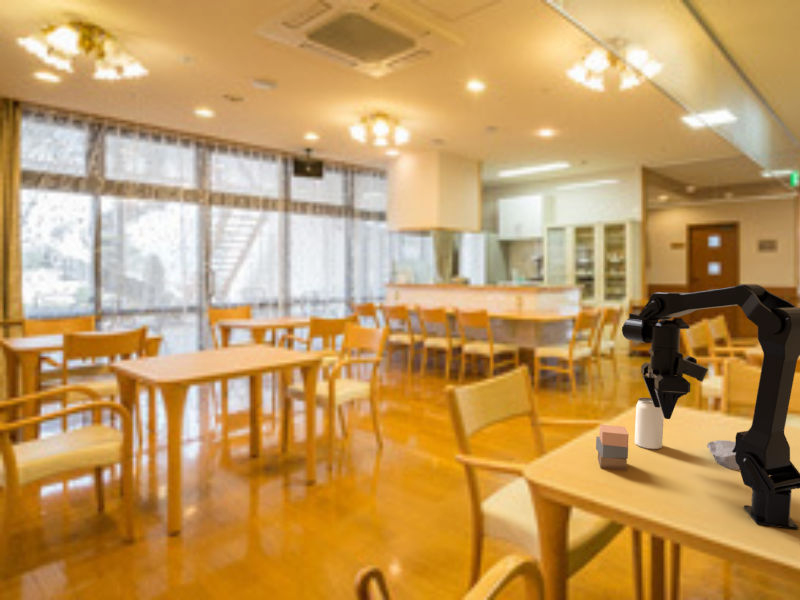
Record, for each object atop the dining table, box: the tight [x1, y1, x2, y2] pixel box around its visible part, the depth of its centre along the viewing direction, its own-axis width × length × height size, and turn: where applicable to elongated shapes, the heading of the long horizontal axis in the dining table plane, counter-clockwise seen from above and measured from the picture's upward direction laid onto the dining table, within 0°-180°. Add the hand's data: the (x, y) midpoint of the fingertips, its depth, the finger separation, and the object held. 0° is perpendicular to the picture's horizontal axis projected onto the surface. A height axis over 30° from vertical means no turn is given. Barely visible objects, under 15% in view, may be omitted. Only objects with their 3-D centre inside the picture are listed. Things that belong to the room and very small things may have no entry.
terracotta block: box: [598, 424, 630, 448], centre depth 113 cm, size 6×6×3 cm
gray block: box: [595, 436, 629, 460], centre depth 113 cm, size 6×6×3 cm
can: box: [634, 397, 665, 450], centre depth 126 cm, size 6×6×12 cm
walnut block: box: [597, 451, 628, 472], centre depth 113 cm, size 6×6×3 cm
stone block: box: [706, 439, 740, 471], centre depth 117 cm, size 12×5×10 cm
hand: (662, 412), depth 112 cm, fingers open, 9 cm apart
